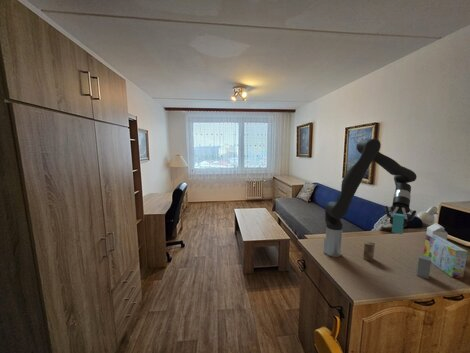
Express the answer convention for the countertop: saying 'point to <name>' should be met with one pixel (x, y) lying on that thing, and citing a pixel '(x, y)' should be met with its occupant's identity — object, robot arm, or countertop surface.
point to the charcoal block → (423, 266)
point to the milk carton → (437, 231)
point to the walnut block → (369, 251)
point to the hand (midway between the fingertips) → (397, 224)
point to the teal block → (398, 223)
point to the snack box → (445, 255)
